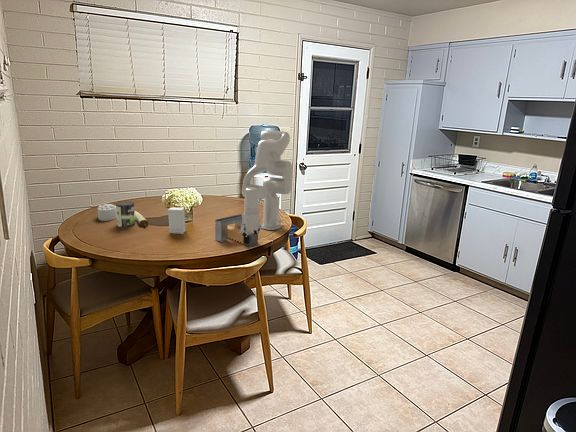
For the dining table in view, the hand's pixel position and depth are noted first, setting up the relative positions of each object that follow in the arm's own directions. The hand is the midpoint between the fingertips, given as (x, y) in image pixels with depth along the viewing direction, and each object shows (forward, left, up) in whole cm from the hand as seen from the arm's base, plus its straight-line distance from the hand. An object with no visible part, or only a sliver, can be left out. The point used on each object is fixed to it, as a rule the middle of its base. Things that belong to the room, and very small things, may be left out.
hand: (250, 241), depth 217 cm
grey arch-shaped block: (0, -16, -2) cm, 16 cm away
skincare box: (+18, -43, -2) cm, 47 cm away
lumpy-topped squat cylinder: (+34, -96, -2) cm, 102 cm away
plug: (0, -10, -2) cm, 10 cm away
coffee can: (+33, -74, -2) cm, 81 cm away
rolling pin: (+23, -76, -2) cm, 80 cm away
